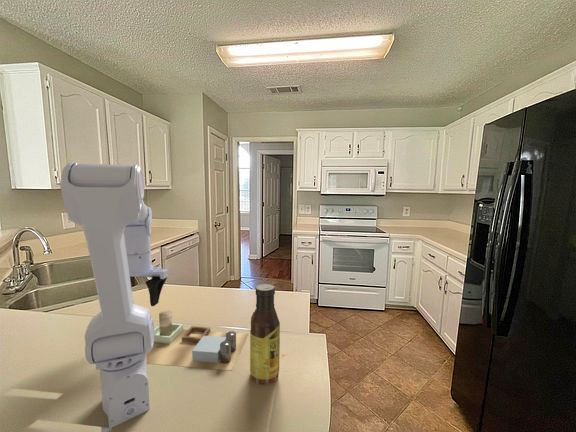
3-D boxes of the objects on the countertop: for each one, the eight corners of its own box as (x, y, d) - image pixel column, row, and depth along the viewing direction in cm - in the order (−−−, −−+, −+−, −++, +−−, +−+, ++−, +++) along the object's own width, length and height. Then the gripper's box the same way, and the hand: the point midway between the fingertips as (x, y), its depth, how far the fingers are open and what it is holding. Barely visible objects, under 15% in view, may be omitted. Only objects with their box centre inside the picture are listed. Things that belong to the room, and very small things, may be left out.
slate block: (226, 346, 63) (226, 337, 63) (217, 362, 57) (217, 352, 57) (203, 345, 64) (203, 335, 63) (192, 361, 58) (192, 350, 57)
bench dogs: (237, 346, 63) (237, 331, 63) (229, 364, 57) (228, 347, 56) (228, 346, 63) (227, 331, 63) (218, 363, 57) (218, 346, 57)
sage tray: (183, 330, 70) (183, 324, 70) (170, 344, 64) (170, 337, 64) (161, 328, 71) (161, 322, 71) (146, 342, 65) (146, 335, 64)
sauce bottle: (275, 391, 50) (275, 295, 48) (245, 385, 52) (244, 292, 50) (282, 368, 57) (283, 283, 55) (256, 364, 58) (255, 280, 56)
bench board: (248, 336, 69) (248, 329, 69) (232, 373, 55) (232, 365, 55) (162, 330, 71) (161, 324, 71) (125, 364, 57) (125, 356, 57)
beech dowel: (173, 334, 67) (173, 313, 67) (161, 338, 65) (160, 316, 65) (170, 330, 70) (169, 309, 69) (158, 333, 68) (157, 312, 67)
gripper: (174, 249, 67) (175, 298, 68) (123, 247, 69) (126, 295, 70) (157, 256, 60) (159, 310, 61) (102, 254, 62) (105, 307, 63)
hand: (141, 303), depth 65 cm, fingers open, 7 cm apart
